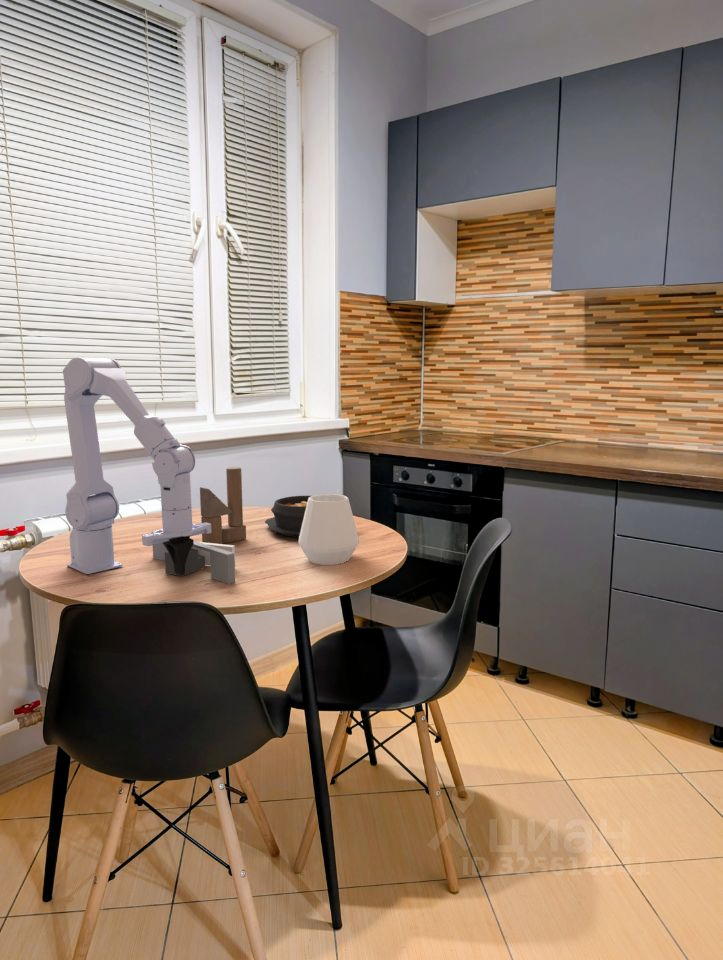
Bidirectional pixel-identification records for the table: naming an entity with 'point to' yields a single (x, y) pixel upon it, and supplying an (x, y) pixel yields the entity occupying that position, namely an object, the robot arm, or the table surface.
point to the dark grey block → (192, 563)
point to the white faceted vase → (328, 530)
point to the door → (221, 546)
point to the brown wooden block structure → (224, 511)
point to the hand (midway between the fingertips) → (180, 573)
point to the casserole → (288, 515)
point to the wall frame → (219, 560)
